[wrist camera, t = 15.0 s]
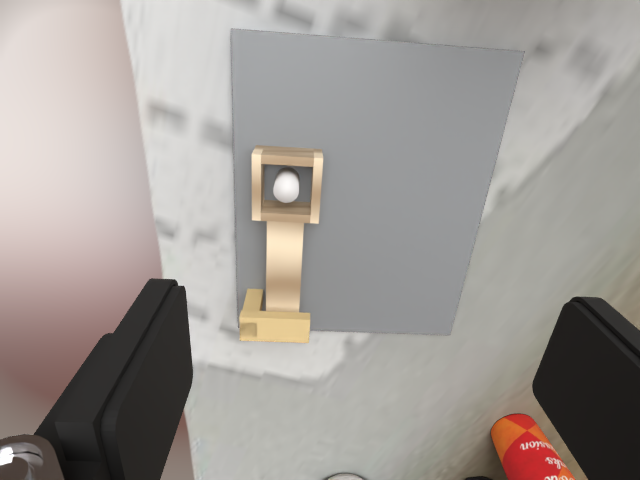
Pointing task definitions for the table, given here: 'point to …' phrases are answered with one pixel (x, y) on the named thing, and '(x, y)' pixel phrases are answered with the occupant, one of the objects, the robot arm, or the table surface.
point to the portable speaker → (478, 478)
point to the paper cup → (526, 450)
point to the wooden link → (285, 223)
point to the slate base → (367, 175)
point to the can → (345, 477)
